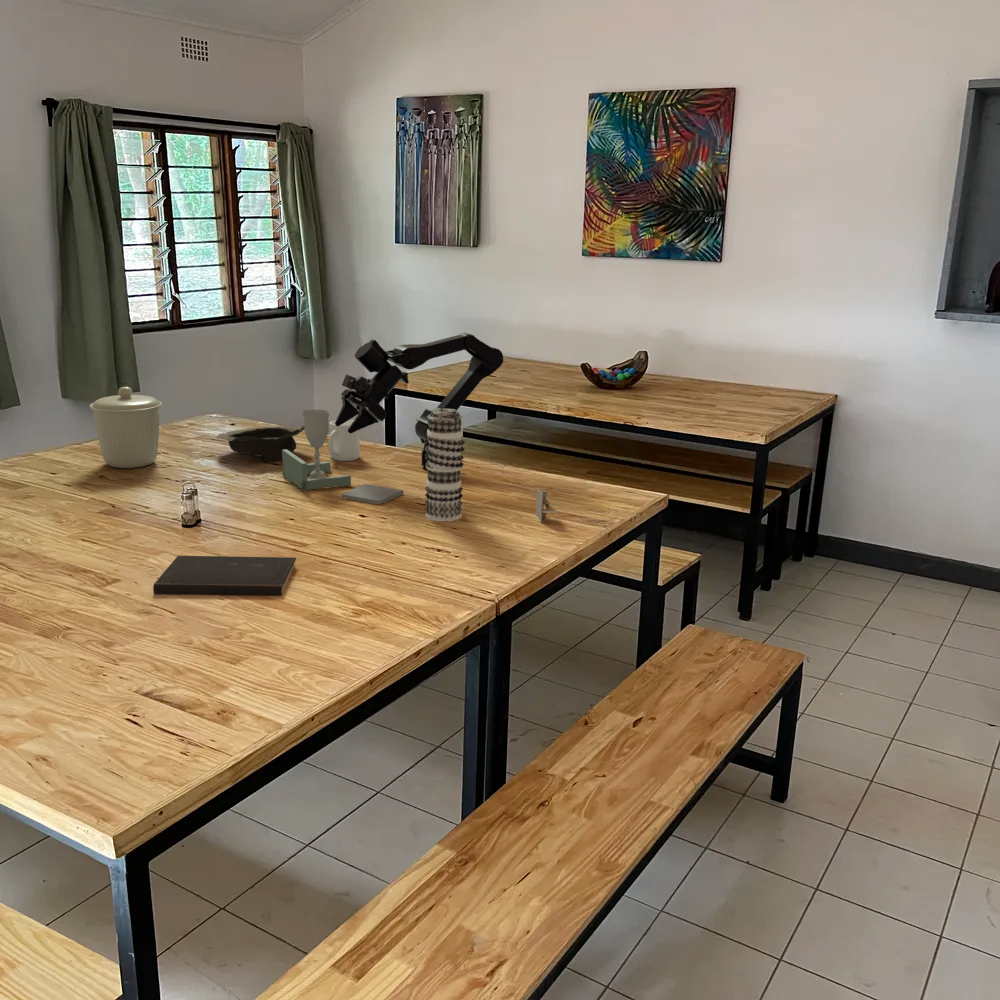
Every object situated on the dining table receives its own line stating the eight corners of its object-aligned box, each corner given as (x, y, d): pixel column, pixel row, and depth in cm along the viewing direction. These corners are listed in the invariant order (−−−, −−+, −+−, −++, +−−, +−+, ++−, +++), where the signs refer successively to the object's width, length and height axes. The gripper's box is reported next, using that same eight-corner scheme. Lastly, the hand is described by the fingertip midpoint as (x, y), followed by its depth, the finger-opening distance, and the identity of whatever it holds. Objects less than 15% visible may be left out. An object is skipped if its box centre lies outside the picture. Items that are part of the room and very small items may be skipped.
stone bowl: (298, 466, 265) (294, 433, 263) (207, 470, 266) (202, 437, 263) (315, 444, 289) (312, 414, 286) (232, 448, 290) (228, 418, 287)
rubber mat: (365, 487, 248) (365, 484, 248) (403, 493, 244) (403, 489, 243) (341, 498, 238) (341, 494, 238) (380, 504, 234) (380, 500, 234)
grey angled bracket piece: (549, 517, 230) (551, 487, 228) (556, 526, 223) (557, 495, 221) (535, 517, 229) (536, 487, 227) (541, 526, 223) (543, 495, 221)
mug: (341, 465, 269) (341, 429, 266) (316, 462, 272) (315, 425, 269) (365, 456, 279) (365, 421, 276) (341, 453, 282) (340, 418, 279)
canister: (140, 452, 276) (134, 378, 270) (180, 463, 266) (175, 386, 260) (81, 464, 262) (73, 386, 256) (121, 476, 252) (114, 395, 246)
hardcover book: (178, 566, 192) (177, 555, 191) (296, 568, 193) (296, 557, 192) (153, 597, 176) (152, 585, 176) (281, 599, 177) (281, 587, 177)
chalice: (336, 478, 255) (335, 411, 250) (323, 485, 249) (322, 415, 244) (311, 475, 258) (310, 408, 253) (298, 481, 251) (296, 413, 246)
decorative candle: (415, 515, 226) (415, 409, 219) (444, 508, 233) (445, 404, 226) (442, 524, 220) (444, 416, 213) (471, 516, 227) (473, 410, 220)
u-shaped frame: (328, 470, 263) (328, 445, 261) (351, 485, 250) (350, 458, 248) (283, 475, 257) (282, 449, 255) (303, 490, 243) (302, 463, 241)
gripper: (347, 358, 259) (308, 402, 256) (375, 368, 243) (333, 415, 241) (375, 386, 265) (337, 429, 262) (403, 398, 249) (363, 443, 247)
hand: (342, 428), depth 253 cm, fingers open, 9 cm apart
